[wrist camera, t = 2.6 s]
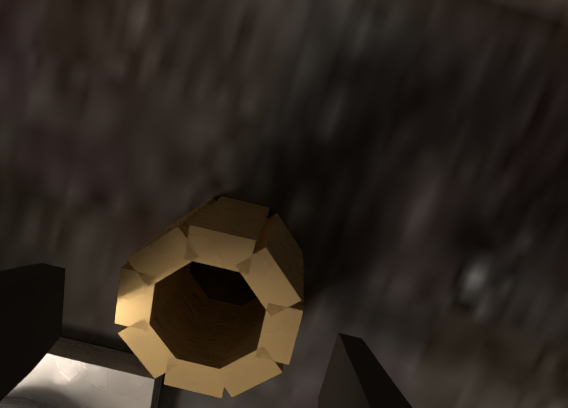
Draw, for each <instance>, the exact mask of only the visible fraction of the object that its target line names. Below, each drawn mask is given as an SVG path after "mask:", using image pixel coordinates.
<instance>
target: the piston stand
mask: <svg viewBox="0 0 568 408" xmlns="http://www.w3.org/2000/svg"><path fill="white" fill-rule="evenodd" d="M162 377H163V374H162V375H161V376H159V377H157V378H154V377H153V376H152V375H151V373H150V372H149V371H148V370H147V369H146V367H145V366H144V365H143V364H142V362H141V361H140V360H139V359H138V357H137V356H136V355H135V354H130V353H126V352H122V351H118V350H114V349H109V348H105V347H101V346H97V345H93V344H89V343H84V342H80V341H76V340H72V339H68V338H63V337H60V338H59V339H58V341H57V342H56V343H55V344H54V346H53V347H52V348H51V349H50V350H49V352H48V353H47V354H46V355H45V357H44V358H43V359H42V360H41V361H40V362H39V363H38V365H37V366H36V367H35V368H34V369H33V370H32V371H31V373H29V374H28V375H27V376H26V377H25V378H24V379H23V380H22V381H21V382H20V383H19V384H18V385H17V386H16V387H15V388H14V389H13V390H12V391H11V392H10V393H9V394H8V395H7V396H6V397H5V398H3V399H2V400H1V401H0V408H158V402H159V396H160V390H161V383H162Z"/></svg>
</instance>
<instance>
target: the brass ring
mask: <svg viewBox="0 0 568 408" xmlns="http://www.w3.org/2000/svg"><path fill="white" fill-rule="evenodd" d="M269 208H270V207H266V206H261V205H257V204H253V203H249V202H244V201H240V200H236V199H232V198H227V197H223V196H221V197H220V198H219V199H218V200H217V201H215V200H214V198H212V199H210V200H208V201H207V202H205V203H204V204H202V205H200V206H199V207H197V208H196V209H194V210H193V211H191V212H189V213H188V214H186V215H185V216H183V217H181V218H180V219H178V220H177V221H175V222H174V223H172V224H171V225H170V226H169V227H167V228H166V229H165V230H163V231H162V232H161V233H159V234H158V235H157V236H156V237H154V238H153V239H152V240H150V241H149V242H148V243H146V244H145V245H144V246H143V247H141V248H140V249H139V250H137V251H136V252H135V253H133V254H132V255H131V256H130V257H128V258H127V260H128V262H127V263H126V264H125V265H124V266H122V267H121V271H120V280H119V289H118V298H117V308H116V317H115V323H116V324H120V325H124V327H123V328H122V329H121V330H120V331H119V332H118V334H119V335H120V336H121V338H122V339H123V340H124V341H125V342H126V344H127V345H128V346H129V347H130V349H131V350H132V351H133V352H134V354H135V355H136V356H137V357H138V359H139V360H140V361H141V362H142V364H143V365H144V366H145V367H146V369H147V370H148V371H149V372H150V373H151V375H152V376H153V377H154V378H157V377H159V376H161V375H162V374H164V373H166V374H165V380H164V384H165V385H169V386H173V387H177V388H181V389H185V390H190V391H194V392H198V393H202V394H206V395H210V396H215V397H219V398H222V395H223V392H224V389H226V390H227V391H228V393H229V394H230V395H231V396H232V397H233V396H235V395H238V394H240V393H242V392H244V391H246V390H248V389H250V388H252V387H254V386H256V385H258V384H260V383H262V382H264V381H266V380H268V379H270V378H272V377H274V376H276V375H278V374H280V373H282V371H283V364H288V365H289V362H290V359H291V355H292V351H293V348H294V344H295V340H296V336H297V333H298V329H299V325H300V322H301V318H302V314H303V302H304V260H303V252H302V250H301V249H300V247H299V245H298V244H297V242H296V241H295V239H294V238H293V236H292V235H291V233H290V232H289V230H288V229H287V227H286V226H285V224H284V222H283V221H282V219H281V218H280V216H279V215H278V213H275V214H274V215H272V216H270V217H269V218H267V217H268V213H269ZM192 261H195V262H199V263H203V264H207V265H212V266H216V267H220V268H224V269H228V270H233V271H237V272H240V273H241V275H242V276H243V277H244V279H245V280H246V282H247V283H248V285H249V286H250V287H251V289H252V290H253V292H254V293H255V295H256V296H257V298H256V299H254V300H252V301H250V302H248V303H246V304H245V305H243V306H239V305H235V304H231V303H226V302H222V301H218V300H214V299H210V298H208V296H207V295H206V293H205V292H204V291H203V289H202V288H201V287H200V285H199V284H198V283H197V281H196V280H195V278H194V277H193V276H192V274H191V273H190V267H191V262H192Z"/></svg>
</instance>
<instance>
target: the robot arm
mask: <svg viewBox="0 0 568 408" xmlns="http://www.w3.org/2000/svg"><path fill="white" fill-rule="evenodd" d="M64 282H65V268H61V267H57V266H52V265H48V264H44V263H40V264H34V265H28V266H22V267H18V268H13V269H8V270H4V271H0V401H1V400H2V399H3V398H5V397H6V396H7V395H8V394H9V393H10V392H11V391H12V390H13V389H14V388H15V387H16V386H17V385H18V384H19V383H20V382H21V381H22V380H23V379H24V378H25V377H26V376H27V375H28V374H29V373H31V371H32V370H33V369H34V368H35V367H36V366H37V365H38V363H39V362H40V361H41V360H42V359H43V358H44V357H45V355H46V354H47V353H48V352H49V350H50V349H51V348H52V347H53V346H54V344H55V343H56V342H57V341H58V339H59V338H60V337H61V331H62V315H63V299H64ZM318 408H412V407H411V405H410V404H409V403H408V401H407V400H406V399H405V397H404V396H403V395H402V393H401V392H400V391H399V389H398V388H397V387H396V385H395V384H394V382H393V381H392V380H391V378H390V377H389V376H388V374H387V373H386V371H385V370H384V369H383V367H382V366H381V364H380V363H379V362H378V360H377V359H376V357H375V356H374V355H373V353H372V352H371V350H370V349H369V348H368V346H367V345H366V343H365V342H364V341H363V340H362V338H358V337H353V336H349V335H345V334H341V333H338V336H337V339H336V342H335V345H334V349H333V352H332V355H331V359H330V362H329V365H328V368H327V372H326V375H325V378H324V381H323V385H322V388H321V391H320V394H319V402H318Z"/></svg>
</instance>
